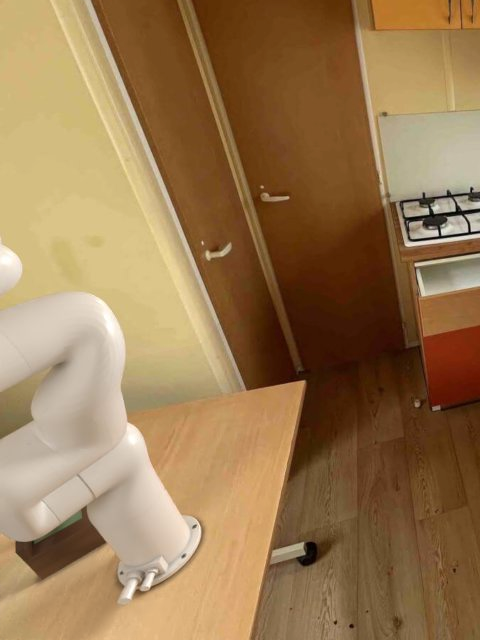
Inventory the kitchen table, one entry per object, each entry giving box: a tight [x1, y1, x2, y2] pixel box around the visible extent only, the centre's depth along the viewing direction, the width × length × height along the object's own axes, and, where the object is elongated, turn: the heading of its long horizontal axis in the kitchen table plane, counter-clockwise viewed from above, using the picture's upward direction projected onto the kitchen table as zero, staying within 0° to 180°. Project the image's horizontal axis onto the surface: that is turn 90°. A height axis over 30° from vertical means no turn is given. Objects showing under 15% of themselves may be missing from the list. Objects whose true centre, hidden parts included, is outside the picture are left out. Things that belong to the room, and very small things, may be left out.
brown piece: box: [14, 505, 107, 581], centre depth 81 cm, size 9×12×9 cm
